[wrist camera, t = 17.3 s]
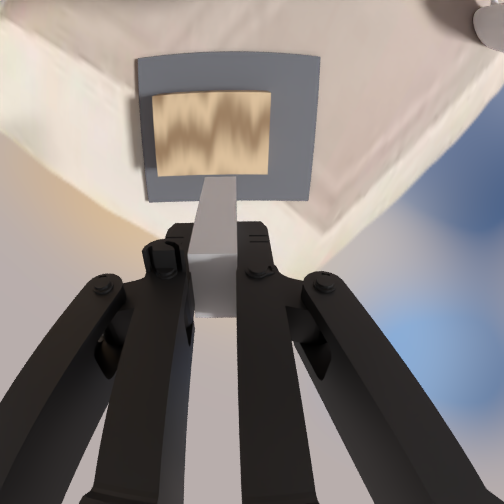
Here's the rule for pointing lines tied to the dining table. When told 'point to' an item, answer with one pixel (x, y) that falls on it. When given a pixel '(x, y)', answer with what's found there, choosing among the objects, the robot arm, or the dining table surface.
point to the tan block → (212, 132)
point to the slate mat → (239, 78)
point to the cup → (490, 25)
